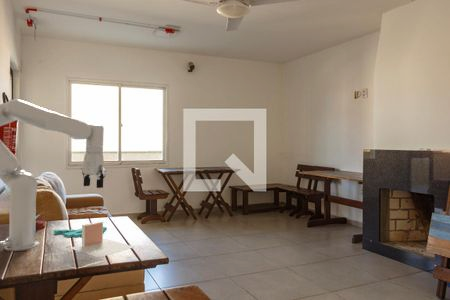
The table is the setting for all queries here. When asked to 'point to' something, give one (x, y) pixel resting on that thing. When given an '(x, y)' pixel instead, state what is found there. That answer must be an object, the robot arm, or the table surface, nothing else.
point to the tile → (92, 234)
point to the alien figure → (72, 232)
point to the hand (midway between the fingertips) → (93, 186)
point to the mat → (102, 248)
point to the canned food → (40, 223)
